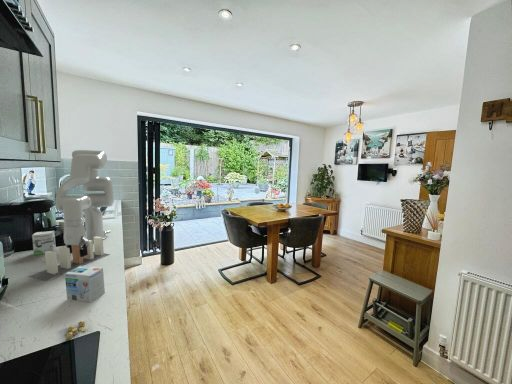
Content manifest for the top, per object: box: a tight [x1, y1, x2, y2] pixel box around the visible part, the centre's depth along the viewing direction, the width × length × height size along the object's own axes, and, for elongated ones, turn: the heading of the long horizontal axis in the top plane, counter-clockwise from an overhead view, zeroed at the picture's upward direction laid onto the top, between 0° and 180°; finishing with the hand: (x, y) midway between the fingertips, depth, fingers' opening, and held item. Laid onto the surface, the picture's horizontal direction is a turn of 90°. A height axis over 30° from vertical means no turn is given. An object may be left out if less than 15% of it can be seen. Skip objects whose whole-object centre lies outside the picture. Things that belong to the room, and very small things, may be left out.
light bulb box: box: [64, 265, 106, 304], centre depth 84 cm, size 11×7×11 cm, turn 82°
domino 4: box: [93, 236, 105, 255], centre depth 121 cm, size 2×5×10 cm, turn 72°
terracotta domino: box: [71, 245, 83, 264], centre depth 111 cm, size 2×5×10 cm, turn 72°
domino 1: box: [44, 251, 58, 274], centre depth 101 cm, size 2×5×10 cm, turn 72°
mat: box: [27, 251, 111, 282], centre depth 110 cm, size 30×12×1 cm, turn 162°
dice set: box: [65, 320, 88, 341], centre depth 67 cm, size 5×5×2 cm
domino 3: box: [84, 240, 94, 259], centre depth 116 cm, size 2×5×10 cm, turn 72°
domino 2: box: [58, 246, 72, 269], centre depth 106 cm, size 2×5×10 cm, turn 72°
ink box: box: [31, 230, 57, 256], centre depth 124 cm, size 9×5×12 cm, turn 120°
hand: (77, 254), depth 111 cm, fingers open, 9 cm apart
